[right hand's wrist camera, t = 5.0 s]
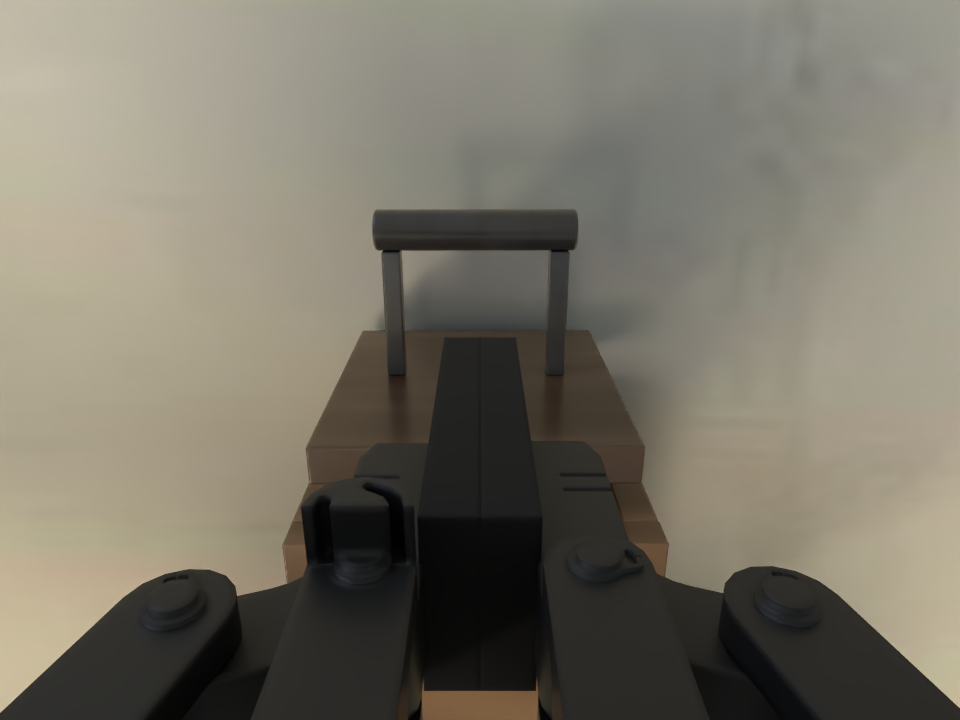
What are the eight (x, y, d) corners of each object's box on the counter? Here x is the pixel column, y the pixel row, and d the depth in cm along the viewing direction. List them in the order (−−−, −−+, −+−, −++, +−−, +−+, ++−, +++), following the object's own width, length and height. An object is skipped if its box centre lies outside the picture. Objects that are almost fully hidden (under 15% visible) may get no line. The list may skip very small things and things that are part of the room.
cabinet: (355, 374, 30) (281, 544, 18) (596, 374, 30) (669, 543, 18) (376, 673, 36) (330, 938, 24) (576, 672, 36) (622, 936, 25)
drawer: (353, 191, 26) (283, 243, 17) (598, 190, 26) (665, 243, 17) (381, 630, 33) (345, 837, 24) (571, 629, 33) (607, 835, 24)
